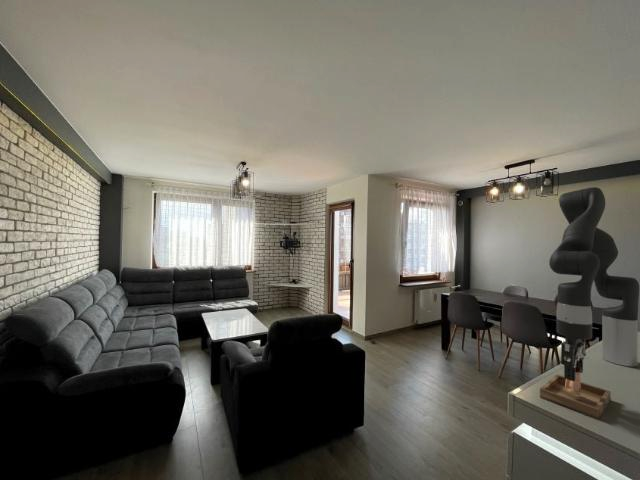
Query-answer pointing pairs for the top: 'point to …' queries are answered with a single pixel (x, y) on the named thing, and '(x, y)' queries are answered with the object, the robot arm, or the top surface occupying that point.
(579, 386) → the grandmother figurine
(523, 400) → the top surface
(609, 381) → the top surface
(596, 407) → the walnut tray
